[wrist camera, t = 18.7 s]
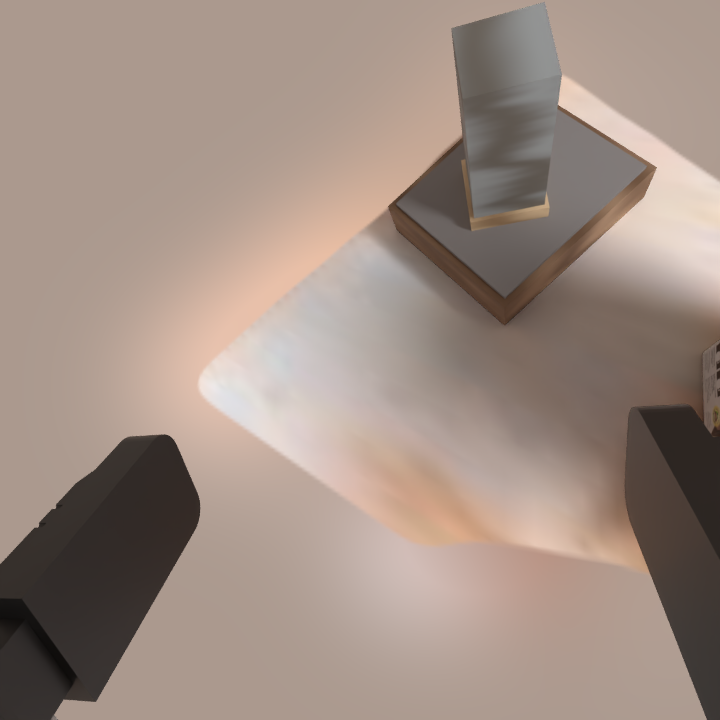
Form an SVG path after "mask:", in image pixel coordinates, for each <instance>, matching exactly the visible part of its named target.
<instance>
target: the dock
mask: <svg viewBox="0 0 720 720" xmlns="http://www.w3.org/2000/svg"><path fill="white" fill-rule="evenodd" d="M464 159H465V152H464V143H463V138H462V139H461V140H460V141H459V142H458V143H456V144H455V145H454V146H453V147H452V148H451V149H450V150H449V151H448V152H447V153H446V154H445V155H443V156H442V157H441V158H440V159H439V160H438V161H437V162H436V163H435V164H434V165H433V166H431V167H430V168H429V169H428V170H427V171H426V172H425V173H424V174H423V175H422V176H421V177H420V178H418V179H417V180H416V181H415V182H414V183H413V184H412V185H411V186H410V187H409V188H408V189H407V190H405V191H404V192H403V193H402V194H401V195H400V196H399V197H398V198H397V199H396V200H395V201H393V202H392V203H391V204H390V205H389V206H388V207H389V210H390V213H391V215H392V218H393V221H394V224H395V226H396V229H397V230H398V231H399V232H400V233H401V234H402V235H403V236H404V237H406V238H407V239H408V240H409V241H410V242H411V243H412V244H413V245H415V246H416V247H417V248H418V249H419V250H420V251H421V252H422V253H424V254H425V255H426V256H427V257H428V258H429V259H430V260H431V261H433V262H434V263H435V264H436V265H437V266H438V267H439V268H440V269H442V270H443V271H444V272H445V273H446V274H447V275H448V276H449V277H451V278H452V279H453V280H454V281H455V282H456V283H457V284H458V285H460V286H461V287H462V288H463V289H464V290H465V291H466V292H467V293H469V294H470V295H471V296H472V297H473V298H474V299H475V300H476V301H478V302H479V303H480V304H481V305H482V306H483V307H484V308H485V309H487V310H488V311H489V312H490V313H491V314H492V315H493V316H494V317H496V318H497V319H498V320H499V321H500V322H501V323H502V324H503V325H506V324H507V323H508V322H509V321H510V320H511V319H512V318H513V317H514V316H515V315H517V314H518V313H519V312H520V311H521V310H522V309H523V308H524V307H525V306H526V305H527V304H528V303H530V302H531V301H532V300H533V299H534V298H535V297H536V296H537V295H538V294H539V293H540V292H541V291H543V290H544V289H545V288H546V287H547V286H548V285H549V284H550V283H551V282H552V281H553V280H554V279H556V278H557V277H558V276H559V275H560V274H561V273H562V272H563V271H564V270H565V269H566V268H567V267H569V266H570V265H571V264H572V263H573V262H574V261H575V260H576V259H577V258H578V257H579V256H580V255H582V254H583V253H584V252H585V251H586V250H587V249H588V248H589V247H590V246H591V245H592V244H593V243H595V242H596V241H597V240H598V239H599V238H600V237H601V236H602V235H603V234H604V233H605V232H606V231H608V230H609V229H610V228H611V227H612V226H613V225H614V224H615V223H616V222H617V221H618V220H619V219H621V218H622V217H623V216H624V215H625V214H626V213H627V212H628V211H629V210H630V209H631V208H632V207H634V206H635V205H636V204H637V203H638V202H639V201H640V200H641V199H642V198H643V197H644V196H645V193H646V191H647V189H648V186H649V184H650V182H651V180H652V177H653V175H654V173H655V171H656V168H657V167H655V166H654V165H652V164H650V163H649V162H647V161H646V160H644V159H643V158H641V157H639V156H638V155H636V154H635V153H633V152H631V151H630V150H628V149H627V148H625V147H624V146H622V145H620V144H619V143H617V142H616V141H614V140H612V139H611V138H609V137H608V136H606V135H605V134H603V133H601V132H600V131H598V130H597V129H595V128H593V127H592V126H590V125H589V124H587V123H586V122H584V121H582V120H581V119H579V118H578V117H576V116H575V115H573V114H571V113H570V112H568V111H567V110H565V109H563V108H562V107H560V106H559V105H558V107H557V114H556V122H555V129H554V137H553V145H552V152H551V160H550V167H549V175H548V182H547V190H546V192H547V197H548V202H549V207H550V208H549V215H548V216H547V217H542V218H537V219H532V220H527V221H521V222H516V223H511V224H506V225H501V226H495V227H490V228H485V229H480V230H475V231H471V224H470V218H469V211H468V204H467V198H466V191H465V184H464V178H463V171H462V163H461V160H464Z"/></svg>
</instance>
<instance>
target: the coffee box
mask: <svg viewBox="0 0 720 720" xmlns="http://www.w3.org/2000/svg"><path fill="white" fill-rule="evenodd" d="M703 402H704V425H705V426H706V428H707V429H708V430H709V432H710V433H711V435H712V436H713V437H719V436H720V340H719V341H717V342H716V343H715V344H713V345H712V346H711V347H710V348H708V349H707V350H706V351H704V352H703Z"/></svg>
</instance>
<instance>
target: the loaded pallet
mask: <svg viewBox="0 0 720 720" xmlns="http://www.w3.org/2000/svg"><path fill="white" fill-rule="evenodd" d="M452 38H453V47H454V57H455V67H456V76H457V86H458V95H459V104H460V113H461V123H462V133H463V143H464V152H465V159H464V160H461V163H462V171H463V178H464V184H465V191H466V198H467V204H468V211H469V218H470V224H471V231H475V230H480V229H485V228H490V227H495V226H501V225H506V224H511V223H516V222H521V221H527V220H532V219H537V218H542V217H547V216H548V215H549V208H550V207H549V202H548V197H547V192H546V190H547V182H548V175H549V167H550V160H551V152H552V145H553V137H554V129H555V122H556V114H557V107H558V99H559V92H560V84H561V77H562V73H561V69H560V65H559V60H558V56H557V52H556V48H555V44H554V39H553V35H552V31H551V27H550V23H549V18H548V14H547V10H546V6H545V2H543V3H540V4H536V5H533V6H529V7H525V8H522V9H519V10H515V11H511V12H508V13H504V14H501V15H497V16H493V17H490V18H487V19H483V20H479V21H476V22H472V23H469V24H465V25H462V26H458V27H455V28H452Z"/></svg>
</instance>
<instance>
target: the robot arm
mask: <svg viewBox="0 0 720 720" xmlns="http://www.w3.org/2000/svg"><path fill="white" fill-rule="evenodd" d="M625 499H626V506H627V511H628V515H629V519H630V522H631V525H632V528H633V530H634V533H635V536H636V538H637V541H638V543H639V546H640V548H641V551H642V554H643V556H644V559H645V561H646V564H647V566H648V569H649V572H650V574H651V577H652V579H653V582H654V584H655V587H656V590H657V592H658V594H659V597H660V600H661V603H662V605H663V607H664V610H665V613H666V615H667V618H668V621H669V623H670V626H671V628H672V631H673V633H674V636H675V638H676V641H677V643H678V646H679V649H680V651H681V654H682V657H683V659H684V661H685V664H686V667H687V669H688V672H689V675H690V677H691V679H692V682H693V685H694V687H695V690H696V693H697V695H698V698H699V700H700V703H701V705H702V708H703V710H704V713H705V716H706V718H707V720H720V436H719V437H713V436H712V435H711V433H710V432H709V430H708V429H707V428H706V426H705V425H704V423H703V422H702V421H701V419H700V418H699V416H698V415H697V414H696V412H695V411H694V409H693V408H692V407H691V406H690V405H688V404H678V405H662V406H645V407H633V408H631V410H630V413H629V418H628V433H627V450H626V468H625ZM199 516H200V500H199V496H198V493H197V491H196V489H195V486H194V484H193V482H192V479H191V477H190V475H189V472H188V470H187V468H186V466H185V463H184V461H183V458H182V456H181V454H180V451H179V449H178V447H177V445H176V443H175V441H174V440H173V439H172V438H171V437H170V436H168V435H149V436H133V437H127V438H125V439H124V440H122V441H121V442H120V443H119V444H118V446H117V447H116V448H115V449H114V450H113V451H112V452H111V453H110V454H109V455H108V456H107V458H106V459H105V460H104V461H103V462H102V463H101V464H100V465H99V466H98V467H97V468H96V469H95V470H94V471H93V472H91V473H90V474H88V475H87V476H86V477H84V478H83V479H81V480H80V481H79V482H77V483H76V484H75V485H74V486H73V487H72V488H71V489H70V490H69V491H68V493H67V494H66V495H65V496H64V497H63V498H62V499H61V500H60V501H59V502H58V503H57V504H56V509H52V510H51V511H50V512H49V513H48V514H47V515H46V516H45V517H44V518H43V519H42V520H41V521H40V523H39V527H38V528H34V529H33V530H32V531H31V532H30V533H29V534H28V535H27V537H25V538H24V540H23V541H22V542H21V543H20V544H19V545H18V546H17V547H16V548H15V549H14V550H13V552H11V554H9V556H8V557H7V558H6V559H5V560H4V561H3V562H2V563H1V564H0V720H58V719H57V718H56V717H55V716H54V714H55V712H56V711H57V709H58V707H59V706H60V704H61V703H62V701H63V699H65V700H78V701H91V702H96V701H97V699H98V697H99V695H100V694H101V692H102V690H103V689H104V687H105V685H106V683H107V682H108V680H109V678H110V676H111V674H112V673H113V671H114V669H115V668H116V666H117V664H118V663H119V661H120V659H121V657H122V655H123V654H124V652H125V650H126V649H127V647H128V645H129V643H130V642H131V640H132V638H133V637H134V635H135V633H136V631H137V630H138V628H139V626H140V624H141V623H142V621H143V619H144V617H145V616H146V614H147V612H148V610H149V609H150V607H151V605H152V604H153V602H154V600H155V598H156V597H157V595H158V593H159V591H160V590H161V588H162V586H163V585H164V583H165V581H166V579H167V578H168V576H169V574H170V572H171V571H172V569H173V567H174V566H175V564H176V562H177V560H178V558H179V557H180V555H181V553H182V552H183V550H184V548H185V546H186V545H187V543H188V541H189V540H190V538H191V536H192V534H193V533H194V531H195V529H196V527H197V524H198V521H199Z"/></svg>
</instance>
